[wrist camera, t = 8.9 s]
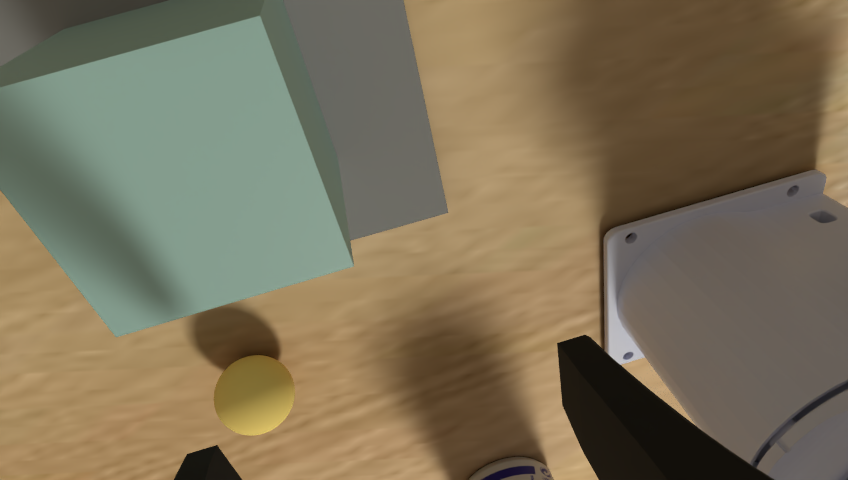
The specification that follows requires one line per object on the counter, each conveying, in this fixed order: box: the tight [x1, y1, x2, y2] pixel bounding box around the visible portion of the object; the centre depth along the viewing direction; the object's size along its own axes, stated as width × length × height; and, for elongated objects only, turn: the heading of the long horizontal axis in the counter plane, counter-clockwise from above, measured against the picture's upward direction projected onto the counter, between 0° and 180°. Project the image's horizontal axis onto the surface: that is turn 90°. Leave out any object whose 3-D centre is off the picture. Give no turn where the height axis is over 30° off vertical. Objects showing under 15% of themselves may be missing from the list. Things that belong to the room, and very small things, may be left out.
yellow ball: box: [214, 355, 295, 435], centre depth 21 cm, size 3×3×3 cm
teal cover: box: [0, 0, 354, 337], centre depth 13 cm, size 6×6×6 cm
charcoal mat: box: [0, 0, 448, 241], centre depth 16 cm, size 12×12×1 cm
